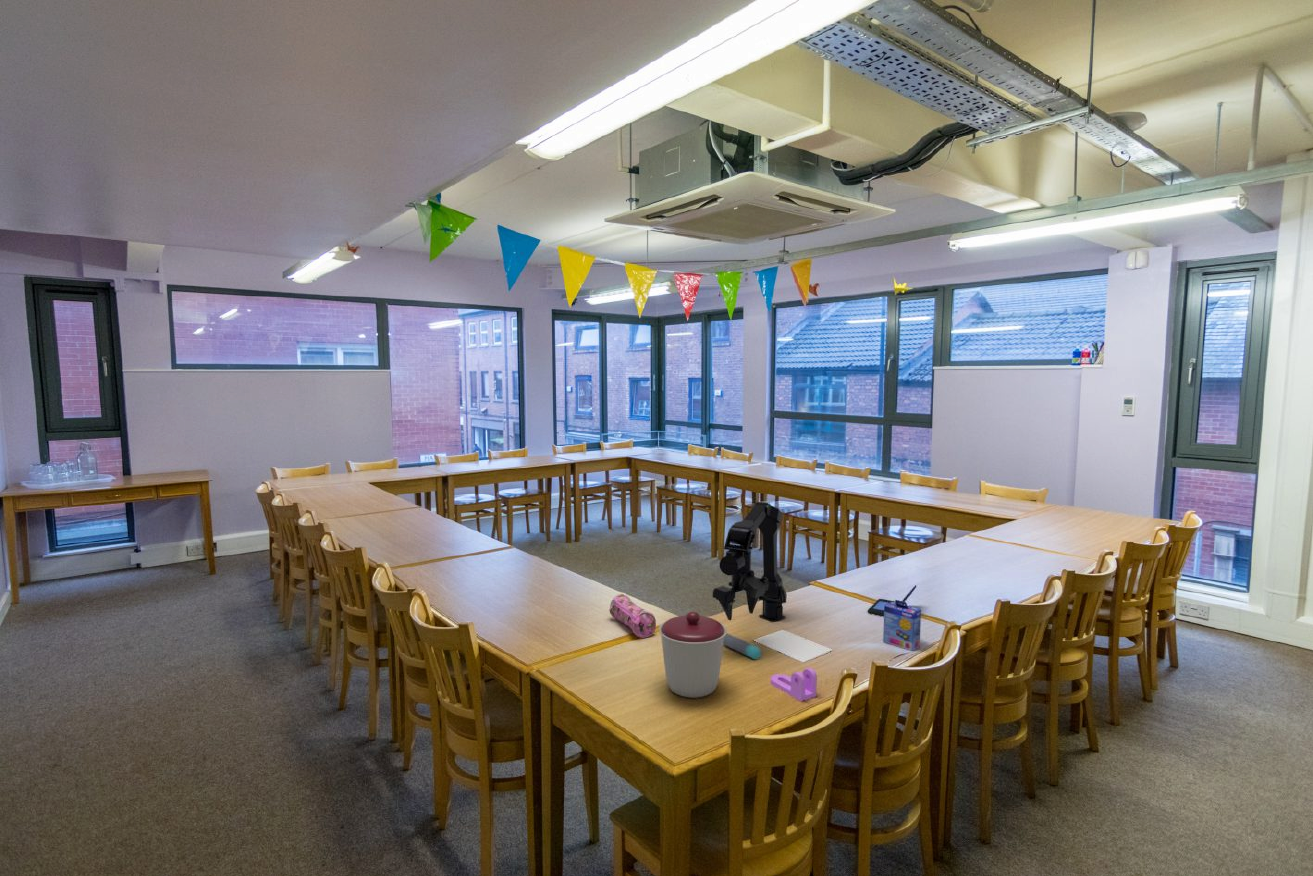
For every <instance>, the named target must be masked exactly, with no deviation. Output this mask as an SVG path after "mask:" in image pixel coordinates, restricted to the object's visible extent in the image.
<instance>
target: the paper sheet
mask: <svg viewBox="0 0 1313 876" xmlns="http://www.w3.org/2000/svg"><path fill="white" fill-rule="evenodd" d="M757 639H758V640H757ZM759 639H760V640H761V641H760V640H759ZM805 639H806V640H805ZM753 640H754V641H756V642H755V643H757V642H758V643H757V644H759V643H761V644H763V645H765V646H764V647H766V646H767V647H766V648H768V647H769V648H768V649H770V648H771V649H770V650H772V649H773V651H774V652H777V651H779V652H781V653H783V654H782V655H784V654H785V655H784V656H786V655H787V657H788V656H789V657H788V658H791V659H793V660H795V661H798V662H800V663H803V664H804V663H807V662H809V661H812V660H815V659H816V657H817V658H820V657H821V655H822V656H824V655H826V653H827V654H828V652H829V653H831V652H833V651H834V650H833V649H832V648H829V647H828V646H824V645H822V644H819V643H817V642H814V641H812V640H809V639H807V638H804V637H802V636H799V635H798V634H795V633H792V632H790V631H787V630H785V629H781V630H777V631H776V632H772V633H769V634H767V635H764V636H761V637H758V638H755V639H753ZM754 641H753V642H754ZM761 644H760V645H761ZM763 645H762V646H763ZM830 651H831V652H830ZM779 652H778V653H779ZM781 653H780V654H781Z"/></svg>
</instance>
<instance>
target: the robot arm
mask: <svg viewBox="0 0 1313 876" xmlns="http://www.w3.org/2000/svg"><path fill="white" fill-rule="evenodd" d="M783 517H784V515H783V512H782V510H781V509H780V508H777V507H775V506H773V505H772V504H771V503H768V502H765V501H764V502H762V501H755V502H754V503H753V506H752V507H751V509H750V511H749V512H748V513H747V515H745V517H744V518H743V519H742V520H741V521H736V522H735V523H734V524H732V525H731V526H730V528H729V529H728V530H727V531H728V532H727V535H726V539H725V542H724V546H723V550H726V552H725V555H724V556H723V557H722V558H720V561H719V564H718V565H719V569H720V571H721V572H722V573H723V574H724V575H727V576H731V581H729V582H728V586H730V588H729V587H727V586H724V585H721V586H718V587H715V588H714V589H713V590H712V598H713V599H715V600H717V601H718V602H719V604H720V606H721V607H722V609H723V611H724V613H725V616H726V618H727V620H729V621H732V618H733V605H734V603H736V599H735V598H736V595H737V594H740V593H743V592H745V594H746V601H747V607H748V613H749V614H753V613H754V612H755V608H756V605H757V602H758V601H762V611H761V614H759V616H758V617H760V618H761V619H764V620H767V621H769V622H771V623H772V622H777V621H780V620H783V619H785V618H786V616H785V615H783V614H784V611H783V610H784V606H783V604H786V603H787V592H786V589H785V587H784V586H783V585H784V584H783V579H782V577H781V576H780V574H779V573H778V549H777V548H778V542H777V541H778V540H777V539H778V538H777V533H778V531H779V529H780V527H782V522H783V519H784V518H783ZM757 529H758V530H759V532H761V534H762V563H763V564H762V565H763V571H762V572H763V574H762V576H761V578H760V577H756V576H755V572H754V570H753V569H751V568H752V561H751V560H752V550H753V548H754V545H755V542H756V539H757V535H756V534H757V533H756V531H757Z"/></svg>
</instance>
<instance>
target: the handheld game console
mask: <svg viewBox="0 0 1313 876" xmlns="http://www.w3.org/2000/svg"><path fill="white" fill-rule="evenodd" d="M916 588H917V585H916V584H915V585H914V586H913V587H912V589H911V590H910V591H909V592H908V593H907V594H906V595H905V597H904V598H903V599H902V601H903V602H906V601H907V600H908V599H909V597H910V596H911V595H912V593H913V592H914V591H915V589H916ZM890 602H895V601H894V600H890V599H884V598H878V599H877V600H876V601H875V602H874V603H873V604H872V605H871V606H870V607H869V608H868V609H867V613H868V614H869V615H872V614H874V616H877V615H879V616H878V617H882V616H883V618H884V605H886V604H888V603H890ZM898 603H900V602H898ZM900 604H903V603H900ZM903 605H905V604H903Z"/></svg>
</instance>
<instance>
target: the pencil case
mask: <svg viewBox="0 0 1313 876" xmlns="http://www.w3.org/2000/svg"><path fill="white" fill-rule="evenodd" d="M608 611H609V613H610V615H611V616H612V617H613V619H616V620H617V621H619V622H621V624H624V625H625V626H627V627H629V629H630V630H632V632H633V634H634V635H636V636H637V637H638V638H642V639H645V638H648V637H651V636H652V635H654V633H656V627H657V620H656V619H657V618H656V617H655V615H654V614H653V613H652V612H650V611H648V610H646V609H644V608H642V607H641V606H639V605H637V604H635V602H634V601H632V600H631V599H630V597H629V596H627V594H623V593H620V594H618V595H616V596H614V597H613V599H612V600H611V601H610V605H609V610H608Z"/></svg>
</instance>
